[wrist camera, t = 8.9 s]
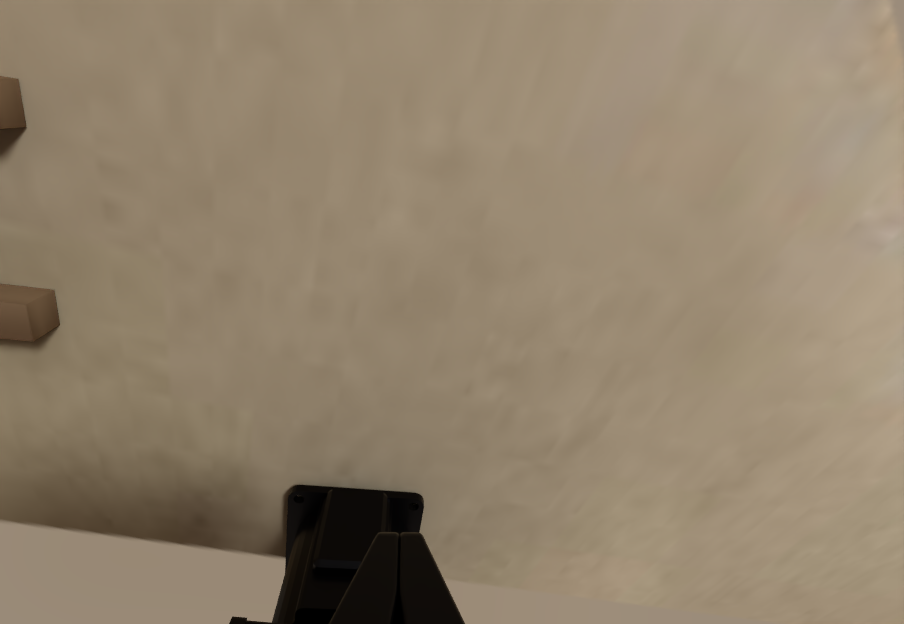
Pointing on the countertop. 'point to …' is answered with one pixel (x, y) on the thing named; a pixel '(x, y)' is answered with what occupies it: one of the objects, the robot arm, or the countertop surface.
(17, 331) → the wooden frame
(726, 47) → the countertop surface
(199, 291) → the countertop surface
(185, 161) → the countertop surface
